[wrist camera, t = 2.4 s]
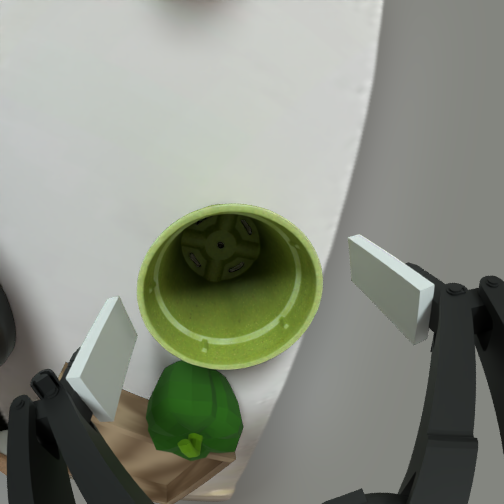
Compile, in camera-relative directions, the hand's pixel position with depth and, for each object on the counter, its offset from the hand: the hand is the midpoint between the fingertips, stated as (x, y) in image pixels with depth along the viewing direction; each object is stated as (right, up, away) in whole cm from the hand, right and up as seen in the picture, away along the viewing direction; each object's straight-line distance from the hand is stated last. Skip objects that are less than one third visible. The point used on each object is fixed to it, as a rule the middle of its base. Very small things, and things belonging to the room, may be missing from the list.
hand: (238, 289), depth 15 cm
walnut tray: (-15, -22, +13) cm, 30 cm away
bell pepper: (-5, -10, +11) cm, 16 cm away
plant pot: (-2, +3, +7) cm, 8 cm away
